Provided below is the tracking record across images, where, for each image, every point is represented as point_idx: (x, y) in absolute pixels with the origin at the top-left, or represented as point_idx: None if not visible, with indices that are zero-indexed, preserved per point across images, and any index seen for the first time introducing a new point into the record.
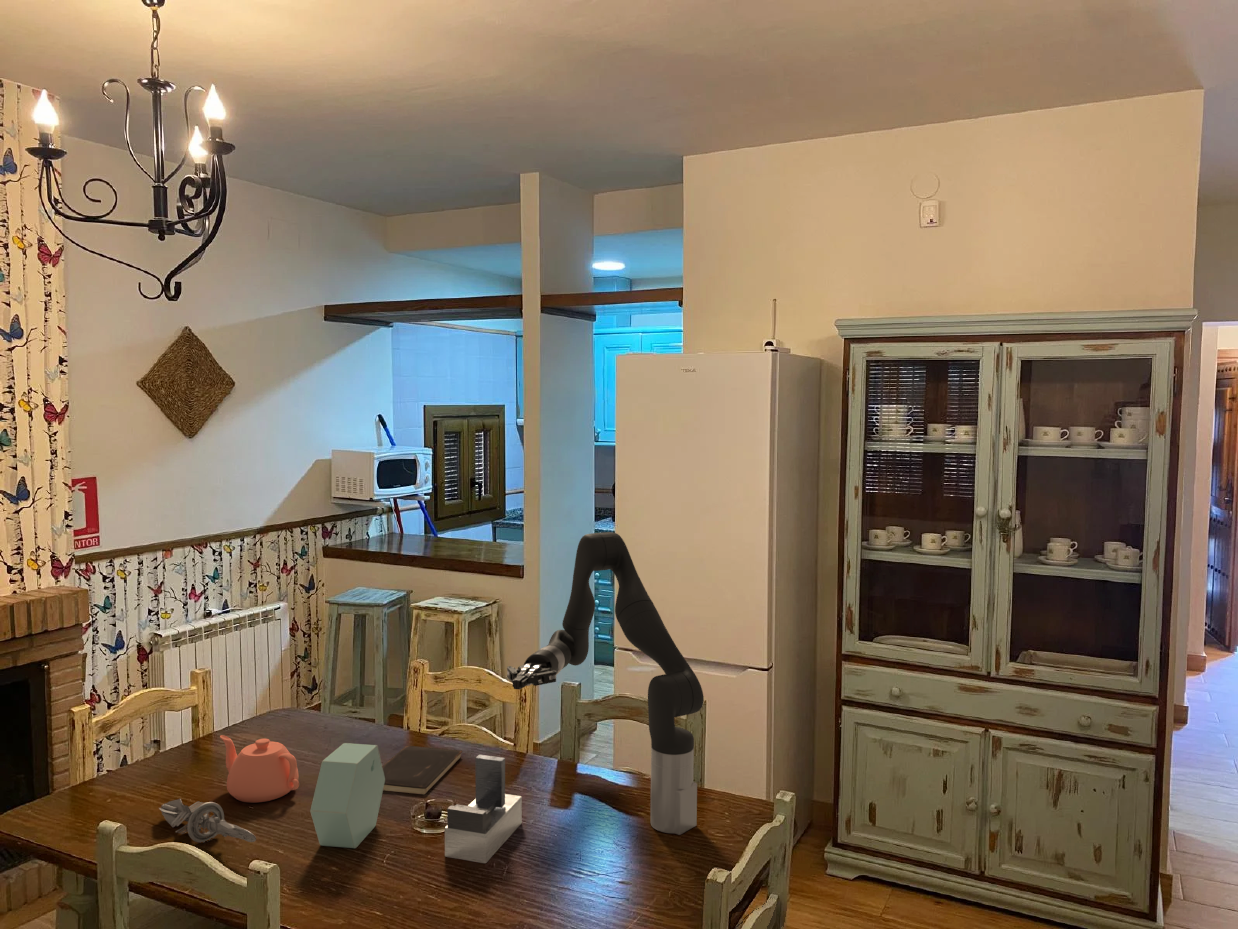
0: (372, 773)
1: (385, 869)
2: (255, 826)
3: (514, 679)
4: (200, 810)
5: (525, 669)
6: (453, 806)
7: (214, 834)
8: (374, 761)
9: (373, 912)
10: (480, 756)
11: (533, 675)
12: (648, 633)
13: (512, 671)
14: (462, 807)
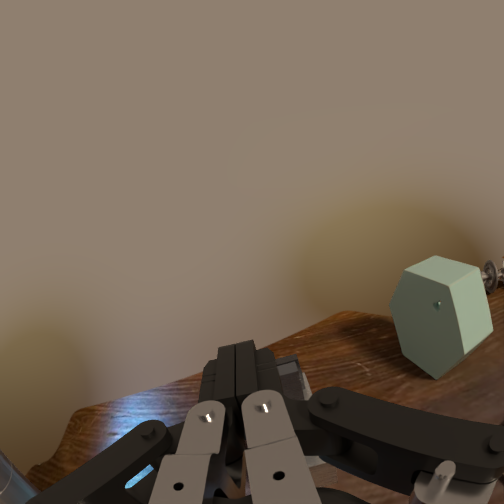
0: (436, 313)
1: (344, 359)
2: (498, 311)
3: (251, 341)
4: (489, 263)
5: (252, 449)
6: (292, 359)
7: (490, 290)
8: (441, 303)
9: (301, 335)
10: (289, 367)
11: (163, 425)
12: None
13: (368, 405)
14: (279, 363)
